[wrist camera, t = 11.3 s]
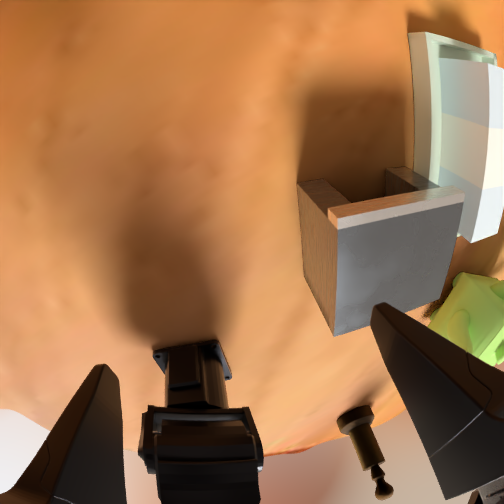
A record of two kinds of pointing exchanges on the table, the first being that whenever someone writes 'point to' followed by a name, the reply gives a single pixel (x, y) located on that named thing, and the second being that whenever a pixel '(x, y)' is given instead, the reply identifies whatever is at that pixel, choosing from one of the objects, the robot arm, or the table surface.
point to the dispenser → (377, 246)
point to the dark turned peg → (366, 446)
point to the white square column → (473, 142)
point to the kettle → (474, 317)
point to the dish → (434, 93)
